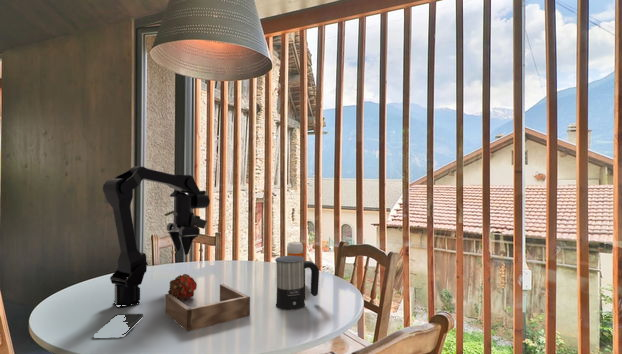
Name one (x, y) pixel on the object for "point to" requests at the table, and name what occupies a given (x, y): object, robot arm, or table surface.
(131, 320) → the phone
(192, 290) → the dragon fruit
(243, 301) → the box
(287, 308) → the milk frother
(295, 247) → the white capped bottle
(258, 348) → the table surface
